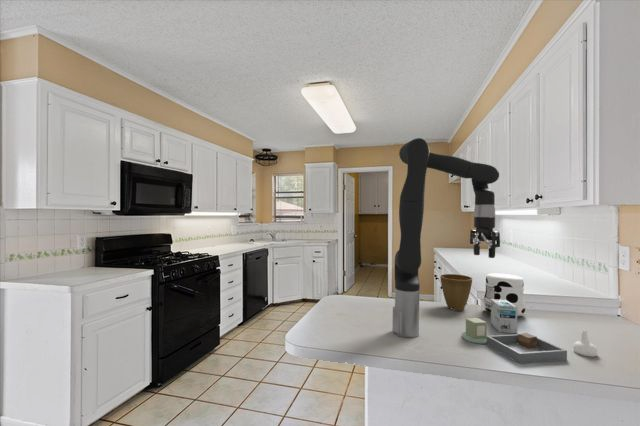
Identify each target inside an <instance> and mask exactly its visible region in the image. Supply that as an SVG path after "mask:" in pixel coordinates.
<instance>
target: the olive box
mask: <svg viewBox="0 0 640 426" xmlns="http://www.w3.org/2000/svg"><path fill="white" fill-rule="evenodd" d="M487 327H488V326H487V321H485V320H483V319H480V318H478V317H472V318H471V317H469V318H465V332H466V335H468V336H470V337H472V338H473V339H486V336H488V335H487V333H488V332H487V331H488V330H487Z"/></svg>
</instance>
